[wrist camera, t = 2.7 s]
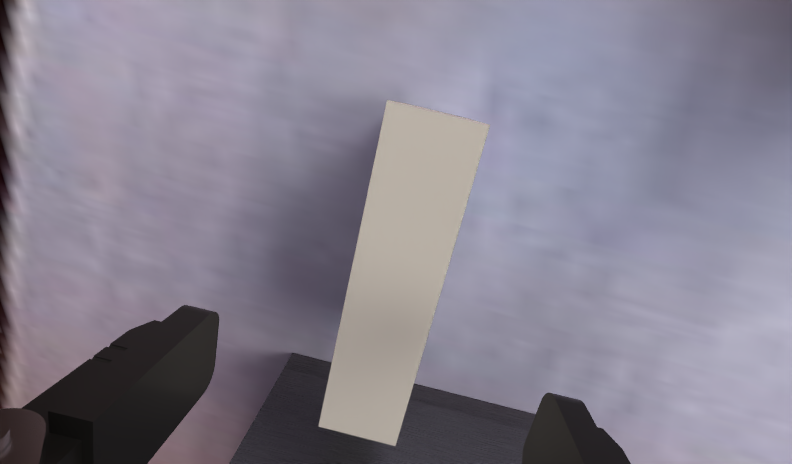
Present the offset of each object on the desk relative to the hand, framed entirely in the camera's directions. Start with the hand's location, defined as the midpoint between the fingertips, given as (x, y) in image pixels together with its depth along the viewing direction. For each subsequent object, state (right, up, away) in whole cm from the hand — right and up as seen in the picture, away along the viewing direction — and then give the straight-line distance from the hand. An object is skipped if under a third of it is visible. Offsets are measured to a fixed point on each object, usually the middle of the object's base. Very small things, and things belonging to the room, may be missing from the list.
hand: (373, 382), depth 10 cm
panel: (+1, +4, +12) cm, 13 cm away
